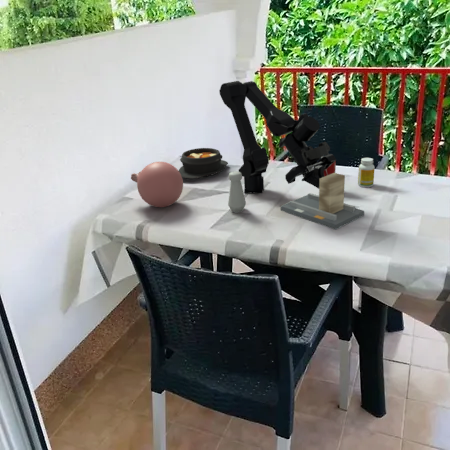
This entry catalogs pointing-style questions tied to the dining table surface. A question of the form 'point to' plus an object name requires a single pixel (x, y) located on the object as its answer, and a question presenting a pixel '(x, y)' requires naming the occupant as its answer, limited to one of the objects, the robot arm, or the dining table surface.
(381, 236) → the dining table surface
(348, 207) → the switch board
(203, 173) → the casserole
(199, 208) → the dining table surface
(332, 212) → the slider tab
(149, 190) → the balloon
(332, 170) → the soda can
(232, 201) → the salt shaker
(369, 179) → the supplement bottle
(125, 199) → the dining table surface
